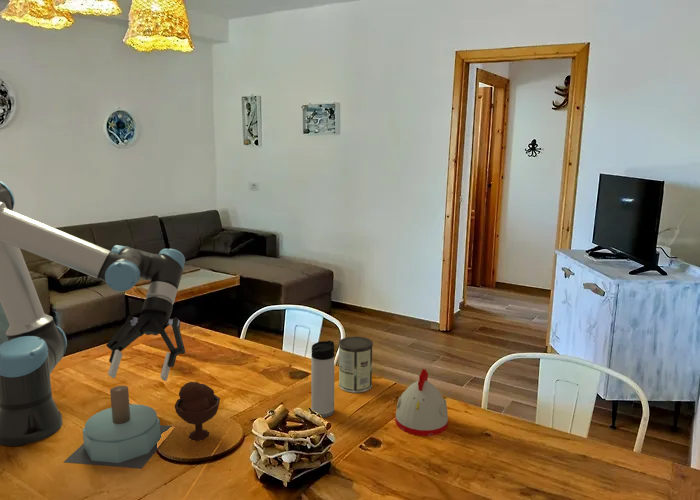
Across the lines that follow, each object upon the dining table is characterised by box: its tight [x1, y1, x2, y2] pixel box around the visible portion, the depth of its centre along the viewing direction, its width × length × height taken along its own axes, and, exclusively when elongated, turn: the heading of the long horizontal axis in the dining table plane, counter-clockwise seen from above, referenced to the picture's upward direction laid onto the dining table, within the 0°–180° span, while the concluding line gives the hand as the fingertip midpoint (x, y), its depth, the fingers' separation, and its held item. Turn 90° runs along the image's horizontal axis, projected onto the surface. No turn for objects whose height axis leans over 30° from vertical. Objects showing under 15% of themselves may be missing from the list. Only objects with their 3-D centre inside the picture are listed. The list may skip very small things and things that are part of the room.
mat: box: [63, 424, 173, 469], centre depth 136 cm, size 19×19×1 cm
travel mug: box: [310, 340, 335, 418], centre depth 152 cm, size 6×7×20 cm
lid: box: [82, 385, 161, 463], centre depth 135 cm, size 16×16×14 cm
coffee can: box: [338, 336, 374, 394], centre depth 169 cm, size 10×10×14 cm
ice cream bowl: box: [174, 381, 221, 442], centre depth 139 cm, size 11×11×15 cm
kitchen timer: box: [395, 368, 449, 437], centre depth 148 cm, size 14×14×15 cm
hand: (137, 377), depth 139 cm, fingers open, 13 cm apart
